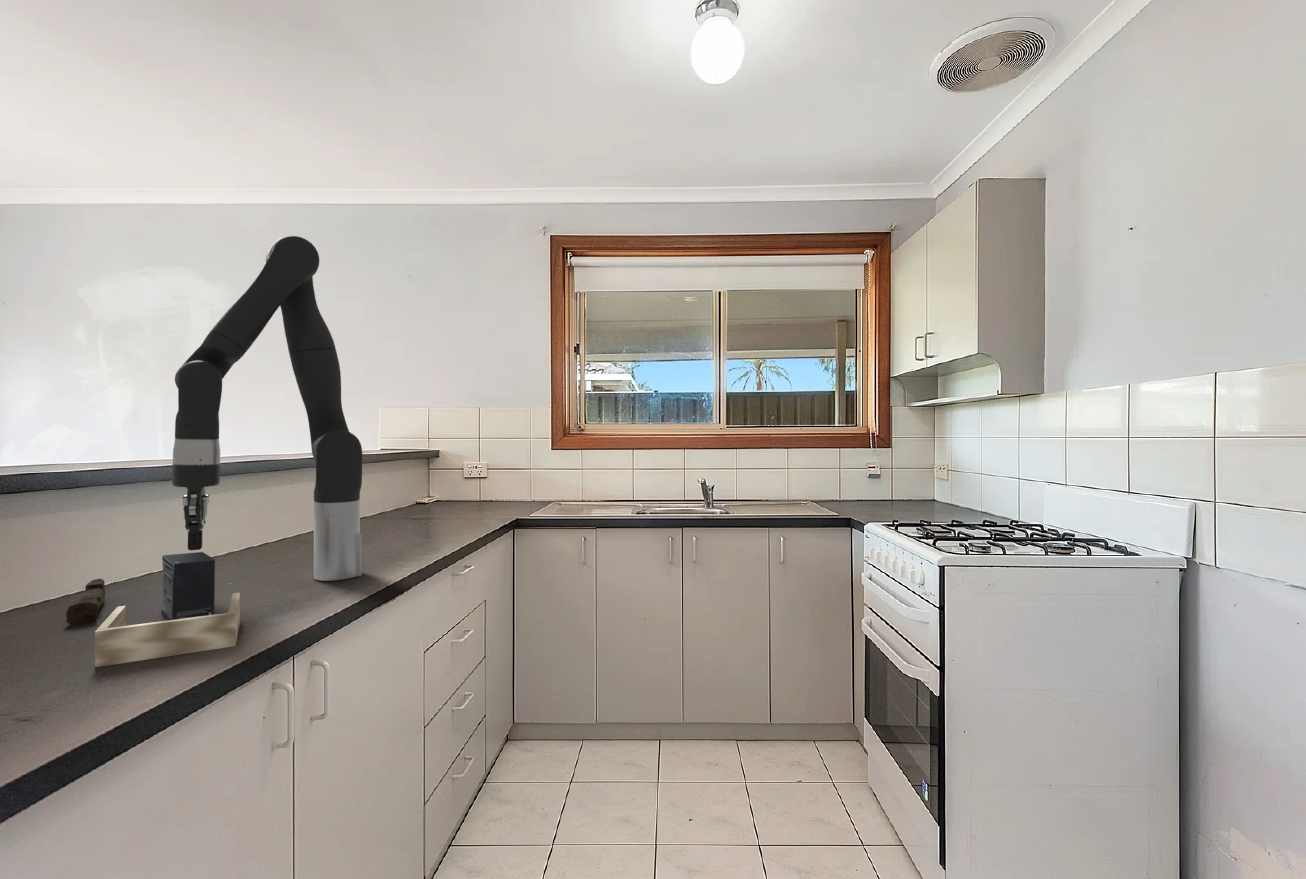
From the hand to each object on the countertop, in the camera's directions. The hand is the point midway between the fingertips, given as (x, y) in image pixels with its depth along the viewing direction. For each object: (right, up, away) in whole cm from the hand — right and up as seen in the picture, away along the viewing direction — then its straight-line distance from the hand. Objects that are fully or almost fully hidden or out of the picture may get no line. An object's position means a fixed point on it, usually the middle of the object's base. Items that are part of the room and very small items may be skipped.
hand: (195, 549), depth 119 cm
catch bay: (+16, -10, -25) cm, 31 cm away
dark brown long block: (-12, -10, -10) cm, 19 cm away
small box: (+8, -10, -12) cm, 17 cm away
